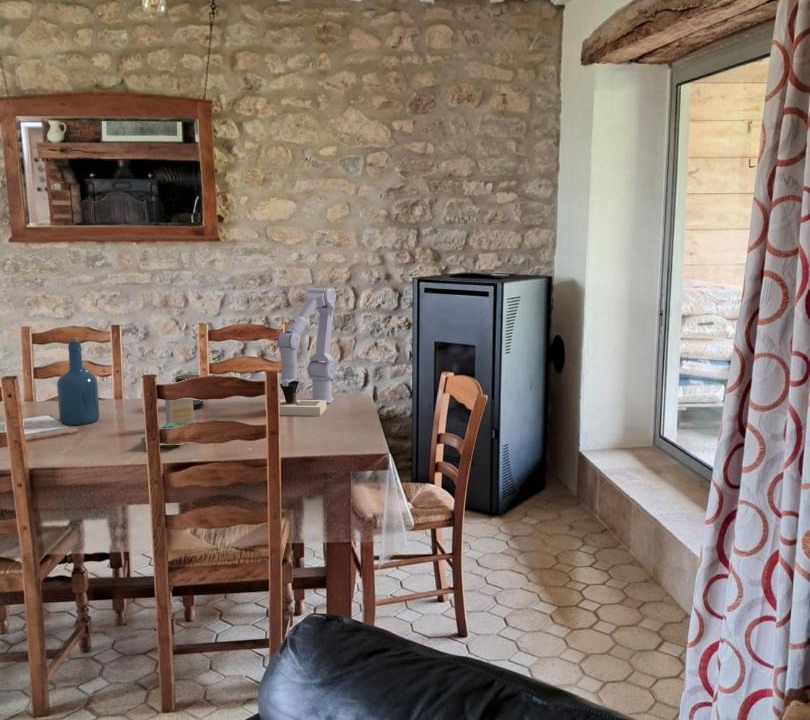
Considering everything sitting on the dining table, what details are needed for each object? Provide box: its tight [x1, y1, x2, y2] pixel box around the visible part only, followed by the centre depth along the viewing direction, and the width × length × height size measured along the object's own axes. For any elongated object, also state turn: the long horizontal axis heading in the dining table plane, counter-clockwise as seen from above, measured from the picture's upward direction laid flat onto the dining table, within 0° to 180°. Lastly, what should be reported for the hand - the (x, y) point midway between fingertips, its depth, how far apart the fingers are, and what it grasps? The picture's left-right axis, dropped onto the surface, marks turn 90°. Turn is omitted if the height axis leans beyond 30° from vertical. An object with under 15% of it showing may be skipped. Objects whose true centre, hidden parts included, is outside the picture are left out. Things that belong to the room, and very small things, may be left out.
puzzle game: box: [140, 423, 189, 448], centre depth 260 cm, size 12×5×20 cm
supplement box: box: [164, 399, 195, 424], centre depth 276 cm, size 8×5×13 cm, turn 124°
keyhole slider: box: [287, 392, 297, 406], centre depth 300 cm, size 6×6×6 cm
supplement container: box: [174, 374, 205, 411], centre depth 307 cm, size 10×10×12 cm
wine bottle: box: [56, 336, 101, 426], centre depth 285 cm, size 14×13×30 cm
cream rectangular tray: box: [279, 399, 327, 417], centre depth 300 cm, size 12×20×3 cm, turn 85°
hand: (290, 401), depth 300 cm, fingers closed on keyhole slider, 3 cm apart
